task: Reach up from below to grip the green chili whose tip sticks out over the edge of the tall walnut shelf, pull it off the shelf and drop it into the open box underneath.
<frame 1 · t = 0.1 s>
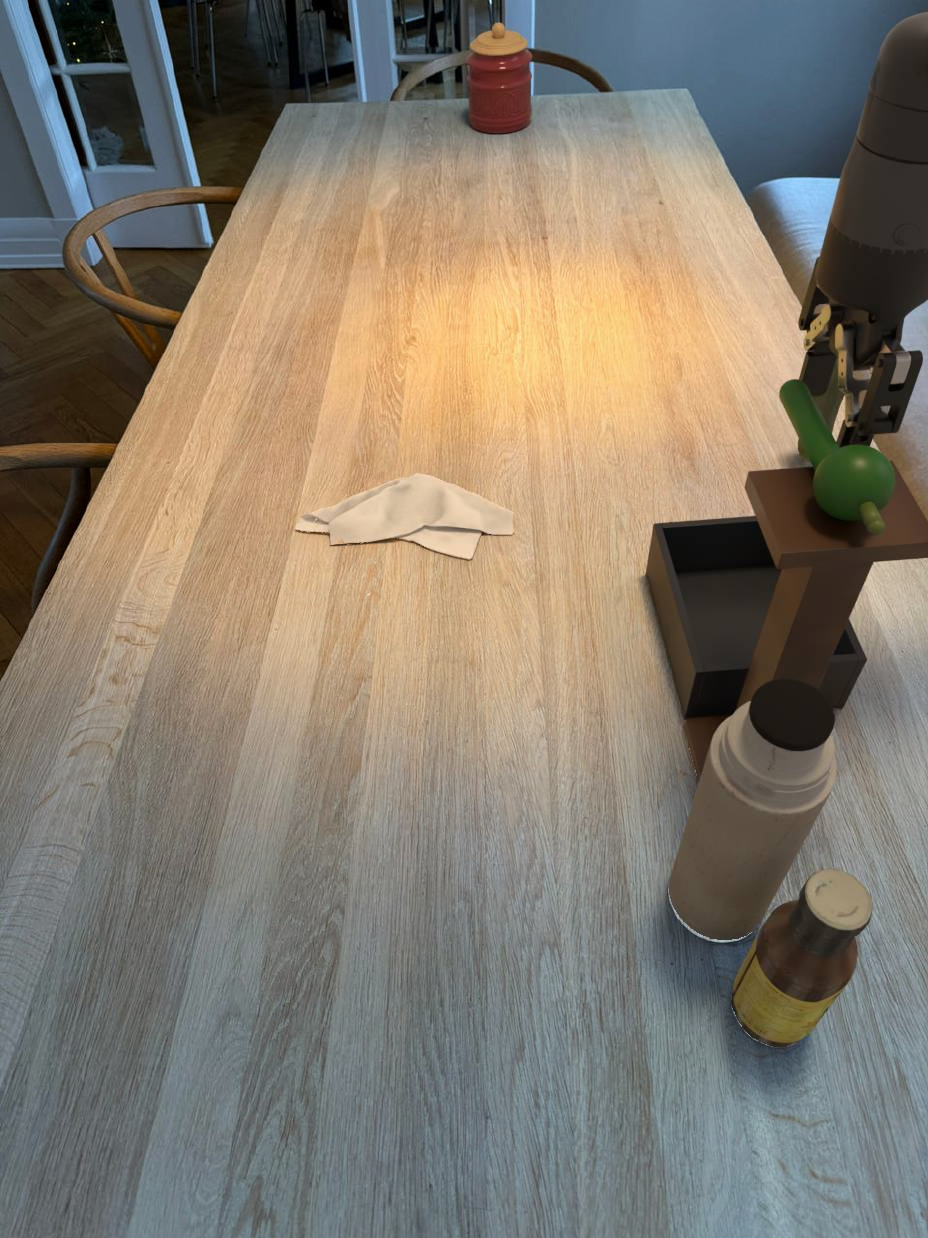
hand: (827, 426, 67), 30 cm above the table, tool pointing down, fingers open, 8 cm apart
shelf stand: (745, 758, 83), on the table
vegetable: (802, 463, 109), on the table
open box: (737, 636, 92), on the table
kitchen canister: (500, 122, 182), on the table
thermos bottle: (715, 897, 74), on the table
cloth: (409, 515, 107), on the table
sauce bottle: (768, 1007, 68), on the table
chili: (810, 445, 62), point 32 cm above the table, touching shelf stand
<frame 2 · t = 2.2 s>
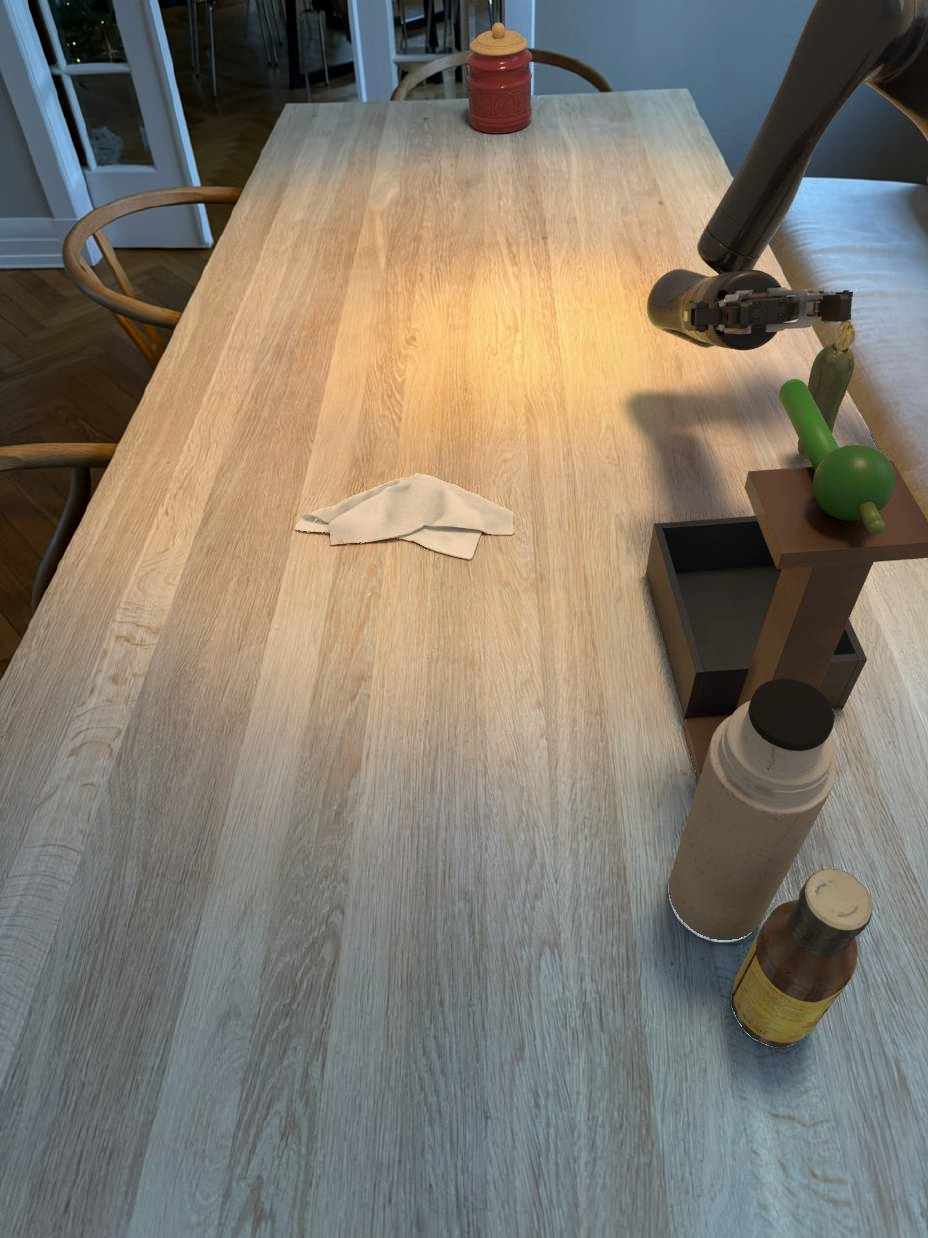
hand: (794, 311, 75), 31 cm above the table, tool pointing upward, fingers open, 8 cm apart
nothing on the table moved.
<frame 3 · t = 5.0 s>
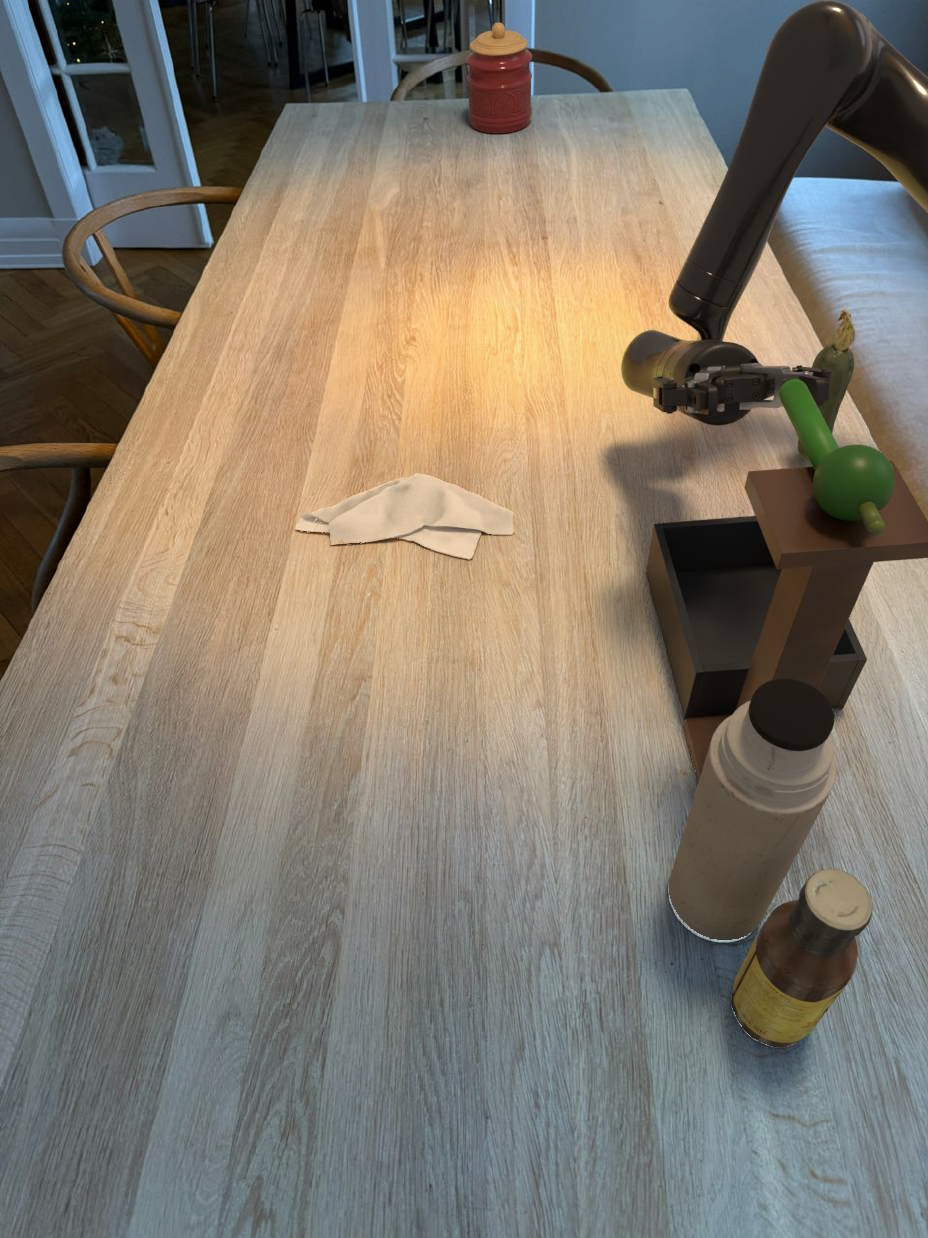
hand: (767, 396, 70), 30 cm above the table, tool pointing upward, fingers open, 8 cm apart
nothing on the table moved.
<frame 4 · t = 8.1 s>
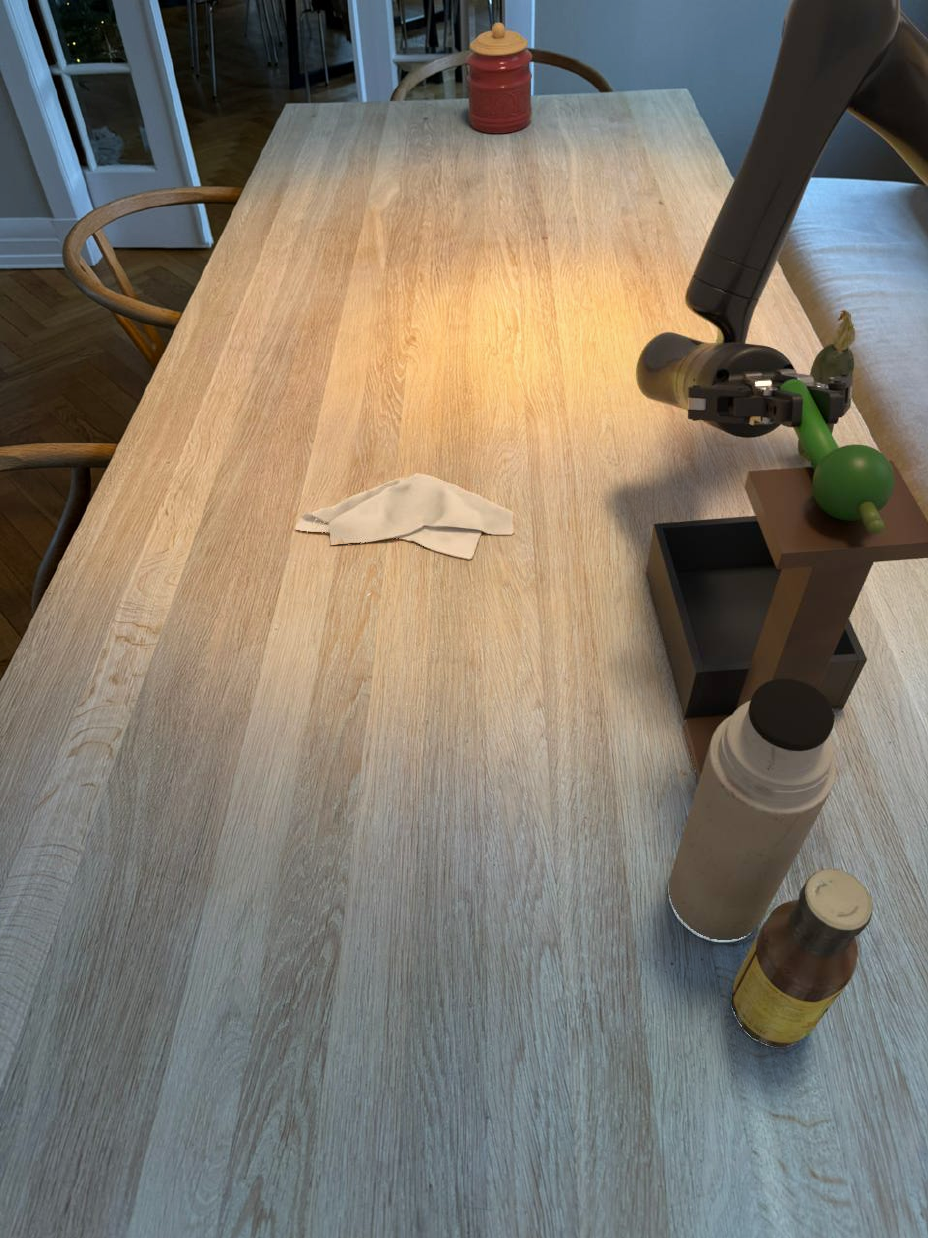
hand: (816, 410, 61), 34 cm above the table, tool pointing upward, fingers closed on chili
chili: (810, 445, 62), point 32 cm above the table, touching gripper, shelf stand
everything else where it was.
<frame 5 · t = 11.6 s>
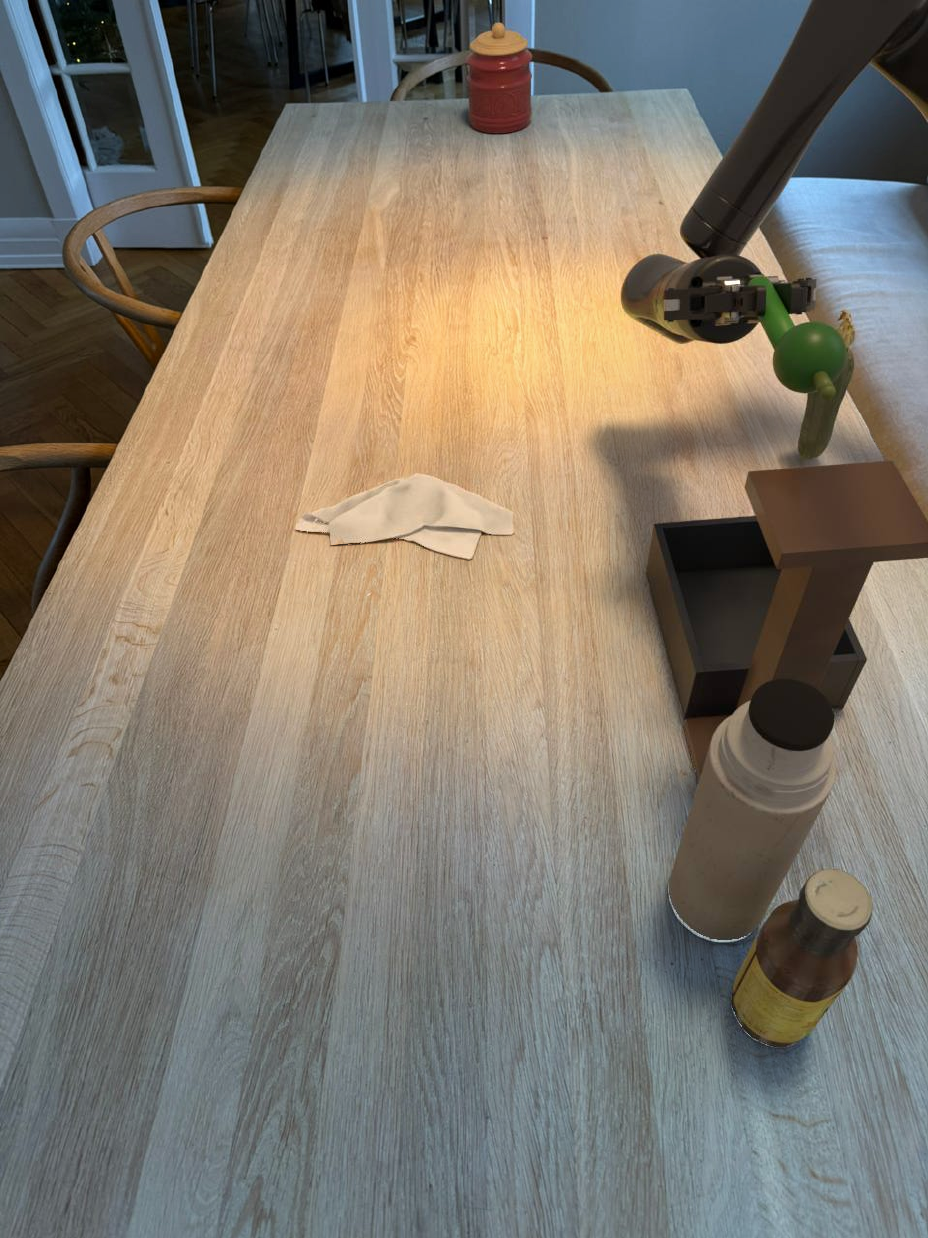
hand: (778, 299, 66), 37 cm above the table, tool pointing upward, fingers closed on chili
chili: (773, 334, 67), point 34 cm above the table, touching gripper
everything else where it was.
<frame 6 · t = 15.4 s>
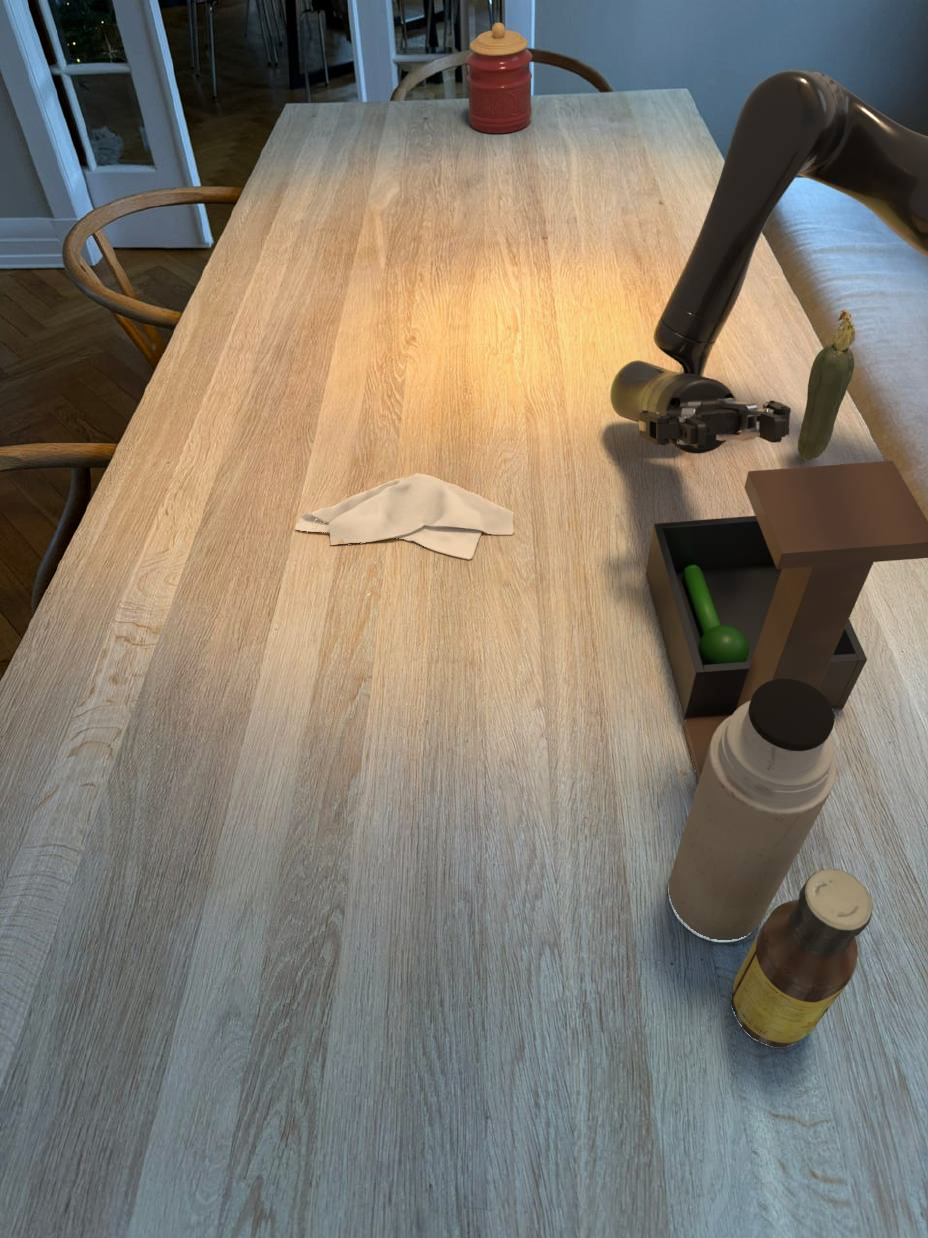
hand: (740, 433, 77), 23 cm above the table, tool pointing upward, fingers open, 6 cm apart
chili: (702, 613, 93), point 1 cm above the table, touching open box
everything else where it was.
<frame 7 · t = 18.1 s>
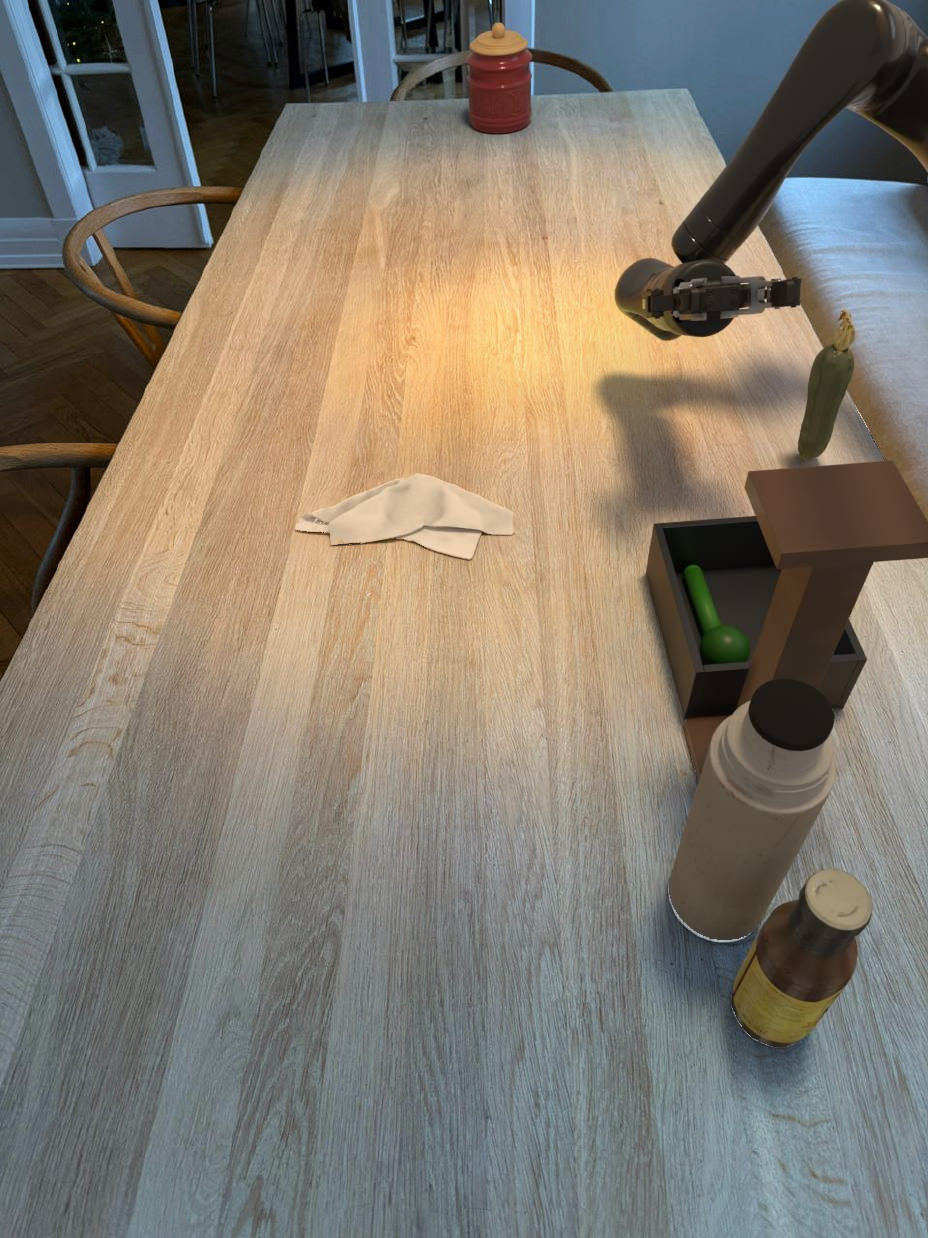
hand: (743, 297, 79), 30 cm above the table, tool pointing upward, fingers open, 8 cm apart
nothing on the table moved.
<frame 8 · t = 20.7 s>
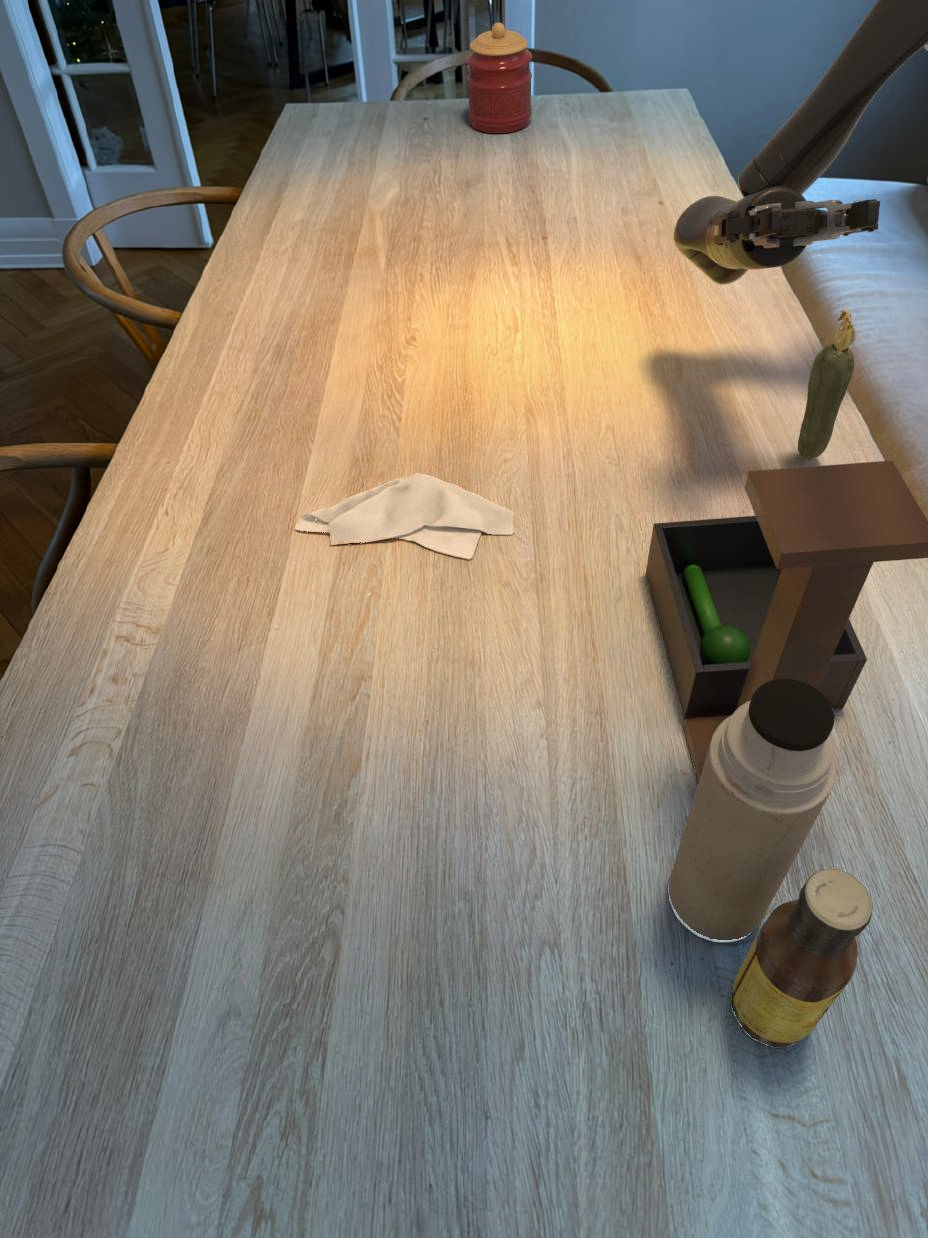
hand: (824, 216, 78), 35 cm above the table, tool pointing upward, fingers open, 8 cm apart
nothing on the table moved.
at the end: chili inside the target area in the open box (4.2 cm from its centre), point 0.8 cm above the open box's base; the gripper is holding nothing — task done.
